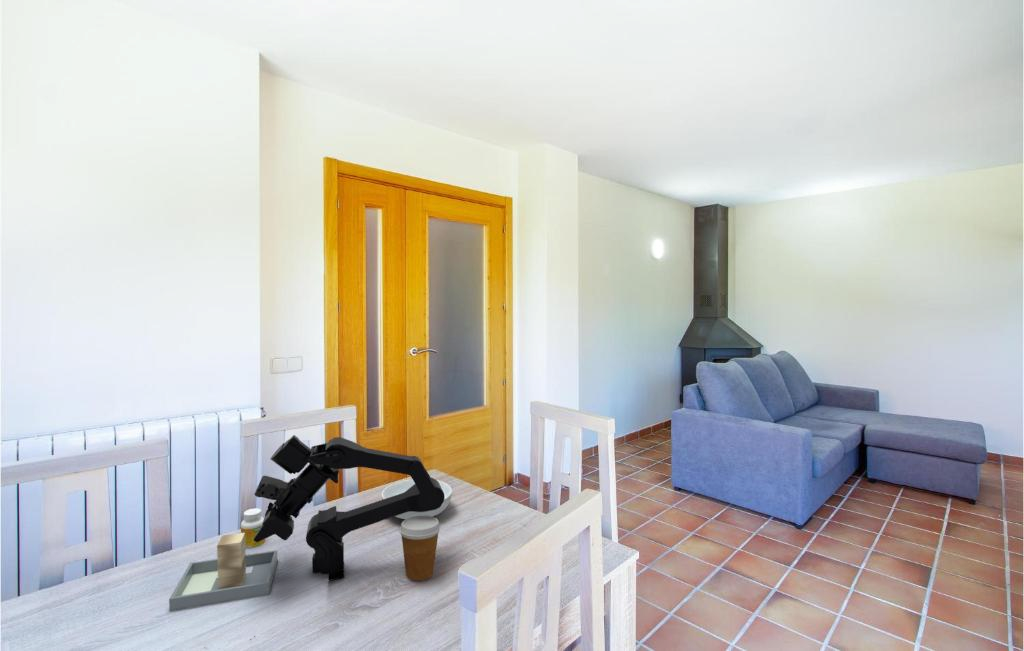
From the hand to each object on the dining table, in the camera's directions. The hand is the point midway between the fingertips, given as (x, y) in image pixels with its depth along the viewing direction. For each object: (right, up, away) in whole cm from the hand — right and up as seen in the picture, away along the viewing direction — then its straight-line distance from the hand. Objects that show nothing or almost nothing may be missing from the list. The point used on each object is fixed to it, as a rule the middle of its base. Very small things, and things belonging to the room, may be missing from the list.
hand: (255, 540), depth 108 cm
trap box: (-5, -10, -1) cm, 12 cm away
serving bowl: (+29, -9, +38) cm, 49 cm away
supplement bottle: (-9, -10, +16) cm, 21 cm away
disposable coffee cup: (+36, -11, +6) cm, 38 cm away
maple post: (-4, -9, -1) cm, 10 cm away
